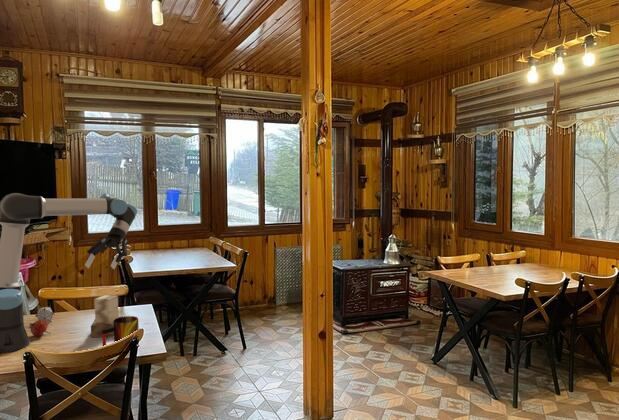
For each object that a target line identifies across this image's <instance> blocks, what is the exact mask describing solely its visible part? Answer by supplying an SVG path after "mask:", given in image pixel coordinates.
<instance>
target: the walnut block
mask: <svg viewBox="0 0 619 420" xmlns="http://www.w3.org/2000/svg"><path fill="white" fill-rule="evenodd" d="M120 317H124V316H123V315H120V316H119V318H120ZM112 327H114V322H112V323H110V324H105V323H96V320H95V319H93V322H92V323H91V325H90V337H91V338H90V339H91V340H93V339H94V340H95V339H102V330H104V329H108V328H112ZM106 338H114V332H110V333H106Z"/></svg>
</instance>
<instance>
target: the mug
mask: <svg viewBox="0 0 619 420" xmlns="http://www.w3.org/2000/svg"><path fill="white" fill-rule="evenodd" d="M119 317H120V316H119ZM113 322H114V327H112V328H108V329H104V330H102V338H101V339H102V344H101V345H102V346H104V345H106V346H107V337H106V333H110V332H114V337H113V343H114V342H115V341H118V340H120V339H122V338H124V337H126V336H128V335H130V334H131V333H133V332H134V331H136V330H138V329H139V317H137V316H133V315H130V316H129V315H128V316H123V317H120V318H117V319H115V320H114V321H113Z"/></svg>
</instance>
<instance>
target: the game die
mask: <svg viewBox="0 0 619 420" xmlns="http://www.w3.org/2000/svg"><path fill="white" fill-rule="evenodd" d="M51 306H52V305H49V306H45V307H44V306H43V307H40V306H38V311H37V313H36V314H35V315H34V317H36V318H37V321H38V320H45V321H47V322H48V323H49V322H50V323H52V319H53V316H54V315H55V312H54V311H53V310H52V307H51Z"/></svg>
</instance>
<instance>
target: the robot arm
mask: <svg viewBox="0 0 619 420" xmlns="http://www.w3.org/2000/svg"><path fill="white" fill-rule="evenodd" d="M137 214H138V208H136V206H134V205H133V204H130V203H127V201H126V200H125V199H122V198H119V197H112V196H111V195H110V194H108V193H105V192H104V193H102V194H101V195H99V197H98V198H97V197H96V198H91V197H90V198H85V197H84V198H74V197H73V198H44V197H43V196H41V195H27V194H24V193H19V192H12V193H9V194H6V195H5V196H4V197H2V199H1V200H0V225H1V234H0V352H3V353H7V352H6V351H10V352H14V351H13V350H15V351H18V350H21V349H23V348H22V347H24V348H26V347H27V346H29V345H30V337H29V335H28V333H27V331H26V328H25V325H24V324H25V322H24V320H25V319H24V301H23V300H24V296H23V292H22V283H21V282H20V281H19V276H20V269H21V262H22V254H23V248H24V247H23V245H24V241H25V240H24V239H25V238H24V236H25V232H26V231H25V230H26V228H27V227H28V226H30V222H31V220H34V219H43V218H44V217H48V216H49V217H51V216H52V217H53V216H55V217H56V216H58V217H59V216H88V215H89V216H90V215H93V216H94V215H109V216H112V217H113V218H114V219H115V221H114V222H113V224H112V226H111V228H110V230H109V232H108V233H107V237H106V238H104V237H103V236H102V237H100V238H99V240H98V241H96V242H95V243H94V244H93V245H92V246H91V247H90V248H88V250H87V251H86V253H87V258H86V262H85V264H84V266H85V267H86V268H87V269H90V267H91V265H92V263H93V261H94V260H95V258H96V255H97V254H99V253H101V252H102V251H104V250H106V249H108V248H112V249H114V248H115V249H116V254H115V256H114V258H113V260H112V262H111V264H110V267H111V268H112V269H113V270H115V269H116V267H117V265H118V264H119V263H120V262H121V260H122V258H123V257H127V256H128V246H127V245H128V240H127V238H126V236H127V233H128V231H129V229H130V227H131V226H132V224H133V222H134V221H135V219H136V216H137ZM120 244H121V247H120ZM25 346H26V347H25ZM20 348H21V349H20ZM17 349H18V350H17Z"/></svg>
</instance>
